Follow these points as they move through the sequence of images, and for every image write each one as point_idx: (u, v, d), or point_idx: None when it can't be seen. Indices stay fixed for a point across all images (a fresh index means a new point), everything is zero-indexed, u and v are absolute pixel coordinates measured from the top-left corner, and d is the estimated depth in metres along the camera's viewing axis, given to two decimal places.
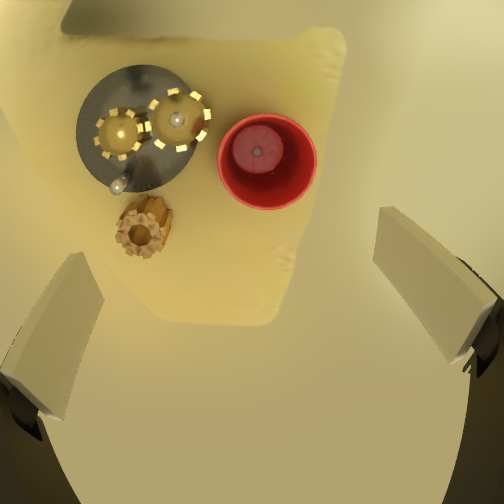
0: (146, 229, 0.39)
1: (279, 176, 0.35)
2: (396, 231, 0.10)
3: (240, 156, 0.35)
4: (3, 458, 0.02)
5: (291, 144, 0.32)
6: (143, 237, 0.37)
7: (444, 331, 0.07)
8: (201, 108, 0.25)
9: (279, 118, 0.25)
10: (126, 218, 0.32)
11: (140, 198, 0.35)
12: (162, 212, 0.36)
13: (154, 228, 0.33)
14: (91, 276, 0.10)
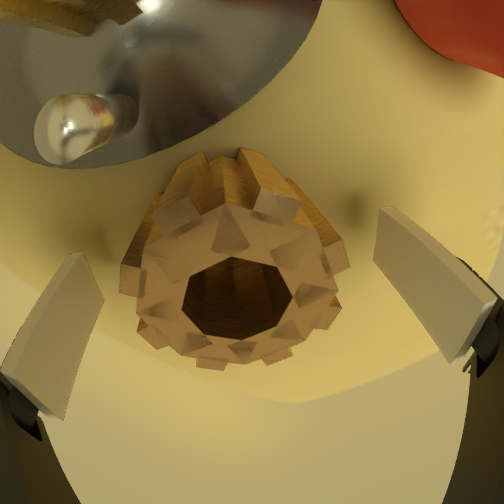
0: (231, 258, 0.13)
1: None
2: (397, 231, 0.10)
3: None
4: (3, 458, 0.02)
5: None
6: (238, 291, 0.11)
7: (444, 331, 0.07)
8: None
9: None
10: (153, 254, 0.07)
11: (185, 165, 0.10)
12: None
13: (300, 257, 0.08)
14: (91, 276, 0.10)
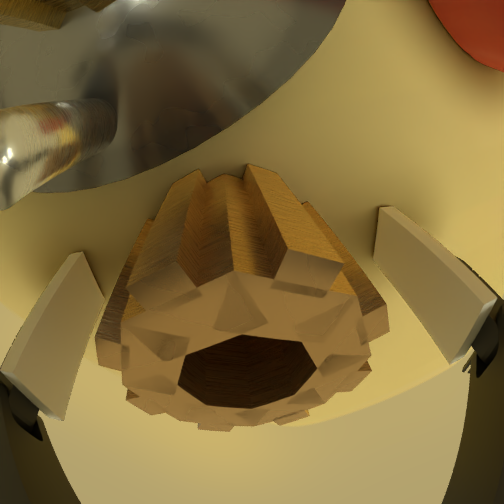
0: None
1: None
2: (396, 231, 0.10)
3: None
4: (3, 458, 0.02)
5: None
6: (245, 341, 0.09)
7: (444, 331, 0.07)
8: None
9: None
10: (135, 330, 0.05)
11: (178, 189, 0.08)
12: None
13: (332, 329, 0.05)
14: (91, 276, 0.10)
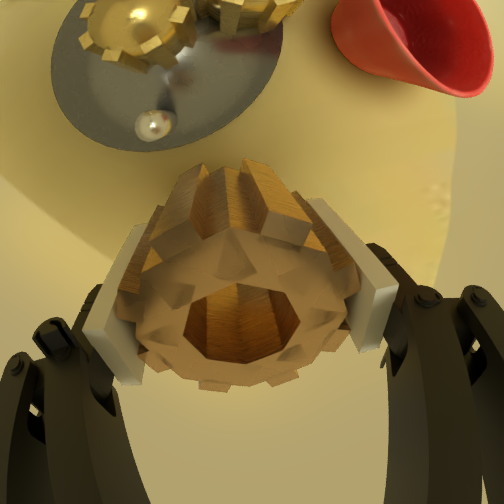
0: None
1: (425, 64, 0.14)
2: None
3: None
4: (72, 438, 0.03)
5: (422, 17, 0.11)
6: (242, 310, 0.11)
7: (352, 318, 0.08)
8: None
9: None
10: (152, 280, 0.06)
11: (185, 178, 0.10)
12: None
13: (309, 282, 0.07)
14: None
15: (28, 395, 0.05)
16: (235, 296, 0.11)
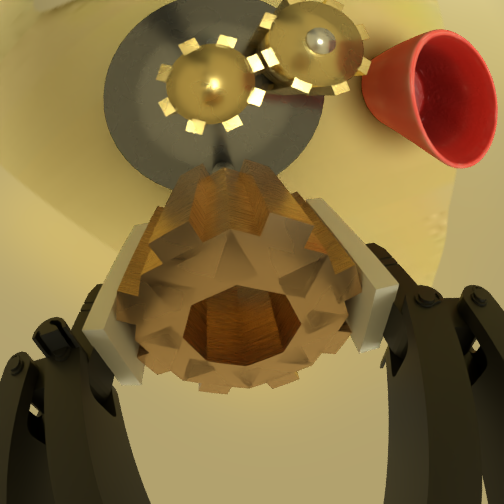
0: None
1: (437, 121, 0.19)
2: None
3: None
4: (72, 438, 0.03)
5: (441, 77, 0.16)
6: (242, 312, 0.11)
7: (352, 318, 0.08)
8: (351, 23, 0.11)
9: (456, 37, 0.09)
10: (151, 282, 0.06)
11: (185, 179, 0.10)
12: None
13: (310, 285, 0.07)
14: None
15: (28, 395, 0.05)
16: (235, 297, 0.11)
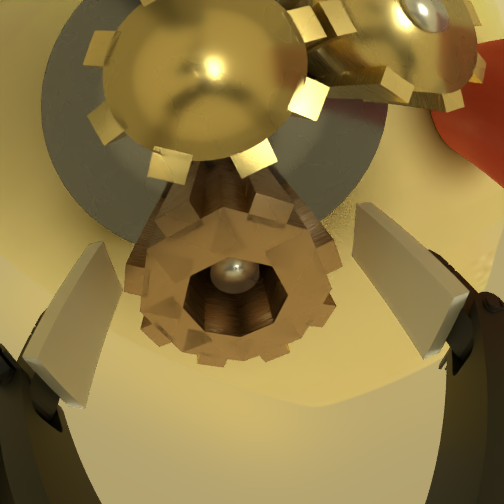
0: None
1: None
2: (371, 226, 0.10)
3: None
4: (21, 450, 0.03)
5: None
6: None
7: (417, 325, 0.07)
8: None
9: None
10: (156, 255, 0.07)
11: None
12: None
13: (294, 257, 0.08)
14: (111, 266, 0.11)
15: None
16: None
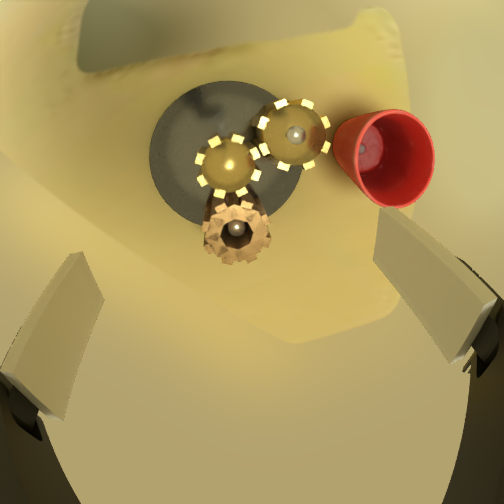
0: None
1: (391, 168, 0.30)
2: (397, 231, 0.10)
3: None
4: (3, 458, 0.02)
5: (394, 134, 0.28)
6: (237, 238, 0.31)
7: (444, 331, 0.07)
8: (318, 117, 0.23)
9: (397, 113, 0.21)
10: (214, 218, 0.27)
11: None
12: (252, 200, 0.30)
13: (254, 219, 0.27)
14: (91, 276, 0.10)
15: None
16: None
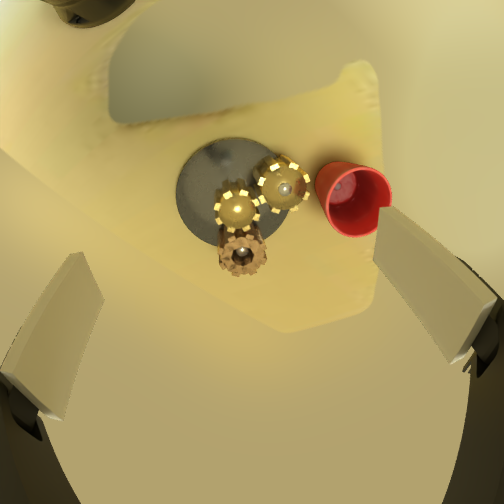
0: None
1: (360, 201, 0.42)
2: (397, 231, 0.10)
3: None
4: (3, 458, 0.02)
5: (364, 176, 0.39)
6: (242, 256, 0.43)
7: (444, 331, 0.07)
8: (301, 175, 0.34)
9: (361, 169, 0.33)
10: (226, 245, 0.38)
11: None
12: (253, 230, 0.42)
13: (255, 246, 0.39)
14: (91, 276, 0.10)
15: None
16: None
